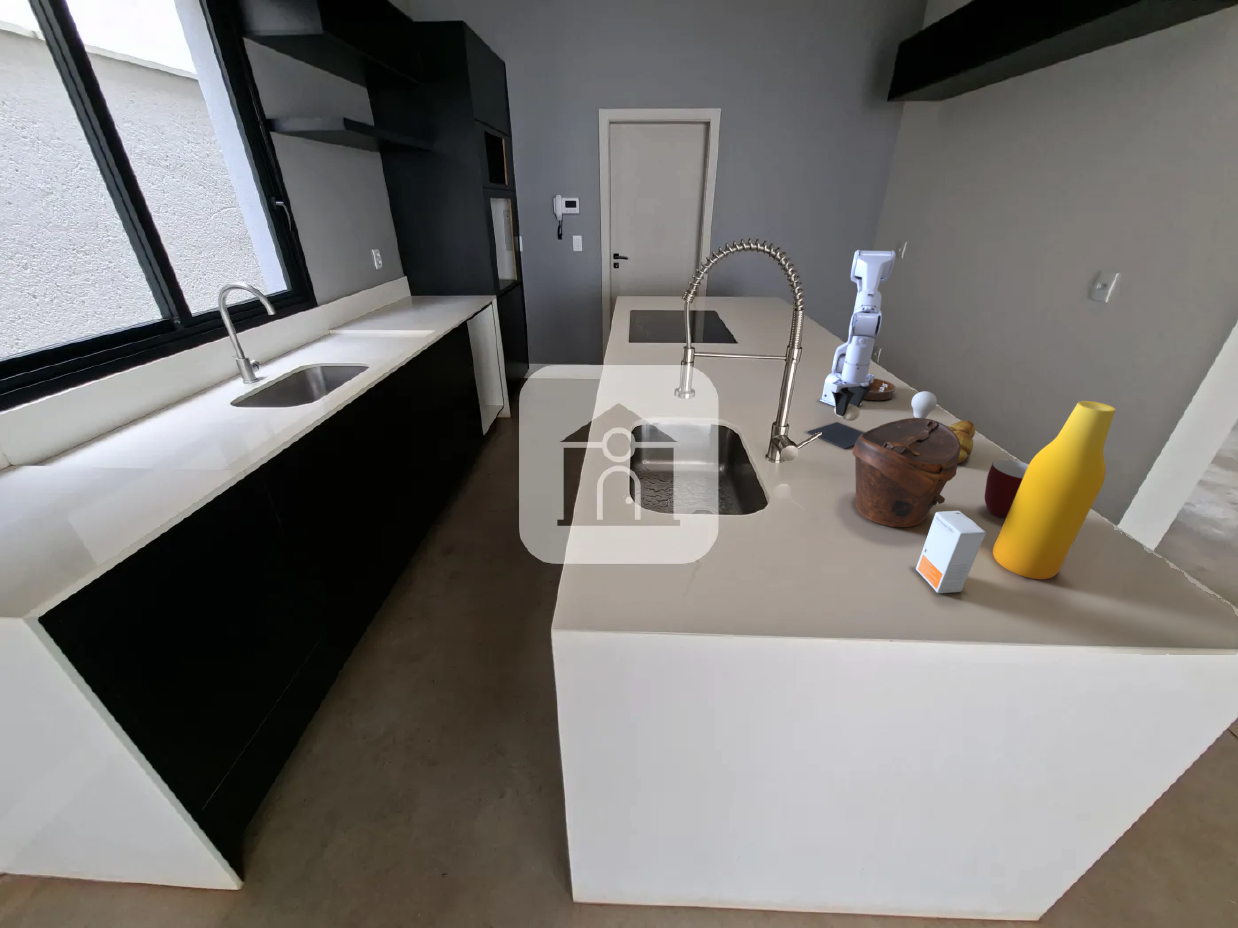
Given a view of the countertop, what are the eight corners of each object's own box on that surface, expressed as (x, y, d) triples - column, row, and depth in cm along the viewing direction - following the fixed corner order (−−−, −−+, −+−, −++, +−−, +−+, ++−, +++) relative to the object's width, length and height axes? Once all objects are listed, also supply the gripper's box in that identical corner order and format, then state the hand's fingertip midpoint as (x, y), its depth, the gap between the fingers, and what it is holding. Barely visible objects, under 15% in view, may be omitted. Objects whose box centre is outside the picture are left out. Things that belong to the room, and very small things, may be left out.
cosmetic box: (914, 569, 84) (934, 511, 79) (937, 568, 85) (959, 509, 79) (937, 594, 79) (960, 533, 73) (962, 592, 79) (987, 531, 74)
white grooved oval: (829, 416, 132) (832, 401, 130) (839, 413, 134) (843, 398, 132) (850, 424, 127) (854, 409, 125) (861, 421, 129) (865, 405, 127)
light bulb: (923, 422, 140) (933, 388, 135) (933, 430, 135) (943, 396, 130) (901, 421, 140) (910, 388, 136) (910, 430, 135) (920, 395, 130)
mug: (1039, 513, 99) (1059, 470, 94) (1040, 533, 93) (1061, 487, 88) (976, 497, 104) (993, 455, 100) (973, 515, 99) (991, 471, 94)
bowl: (832, 390, 163) (833, 382, 162) (861, 382, 170) (863, 374, 169) (873, 405, 152) (875, 395, 150) (903, 395, 159) (906, 386, 157)
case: (840, 529, 95) (860, 445, 87) (840, 480, 111) (857, 406, 103) (946, 549, 89) (979, 461, 81) (930, 495, 105) (956, 417, 97)
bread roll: (970, 470, 115) (982, 439, 111) (923, 461, 119) (932, 431, 115) (967, 448, 125) (977, 419, 121) (923, 441, 129) (931, 412, 125)
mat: (807, 432, 134) (807, 431, 134) (836, 423, 140) (837, 422, 140) (845, 449, 125) (845, 447, 125) (875, 438, 131) (875, 437, 130)
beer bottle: (1040, 550, 89) (1113, 397, 75) (1068, 584, 81) (1157, 420, 67) (982, 543, 91) (1043, 393, 77) (1004, 576, 83) (1077, 415, 69)
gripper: (851, 371, 117) (840, 424, 123) (889, 361, 123) (877, 412, 130) (827, 363, 122) (817, 415, 129) (864, 355, 129) (853, 404, 135)
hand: (845, 413), depth 129 cm, fingers closed on white grooved oval, 4 cm apart
